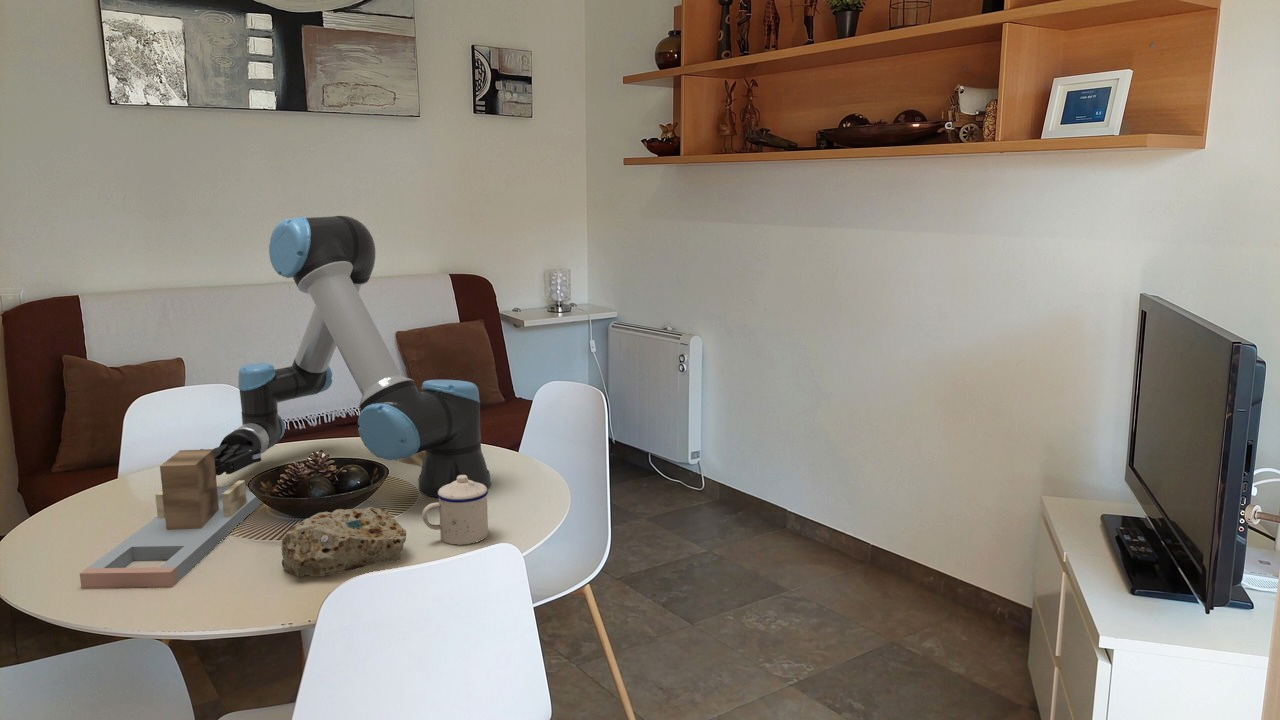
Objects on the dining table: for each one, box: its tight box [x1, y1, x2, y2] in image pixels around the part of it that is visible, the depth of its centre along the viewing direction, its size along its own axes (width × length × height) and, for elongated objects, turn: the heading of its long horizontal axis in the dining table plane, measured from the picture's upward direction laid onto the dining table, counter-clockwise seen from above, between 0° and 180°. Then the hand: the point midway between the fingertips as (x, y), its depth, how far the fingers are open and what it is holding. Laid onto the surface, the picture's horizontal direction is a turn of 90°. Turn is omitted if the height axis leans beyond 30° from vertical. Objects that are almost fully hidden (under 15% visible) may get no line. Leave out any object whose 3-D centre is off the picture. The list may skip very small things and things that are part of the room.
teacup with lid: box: [422, 475, 489, 546], centre depth 168 cm, size 12×9×12 cm
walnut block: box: [159, 448, 219, 530], centre depth 171 cm, size 10×6×12 cm, turn 7°
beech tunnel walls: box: [154, 480, 247, 518], centre depth 176 cm, size 8×13×4 cm, turn 92°
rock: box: [281, 506, 407, 577], centre depth 158 cm, size 21×14×10 cm
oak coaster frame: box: [395, 451, 425, 467], centre depth 221 cm, size 14×16×4 cm
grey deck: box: [79, 485, 263, 589], centre depth 170 cm, size 43×14×2 cm, turn 2°
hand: (195, 480), depth 176 cm, fingers closed
